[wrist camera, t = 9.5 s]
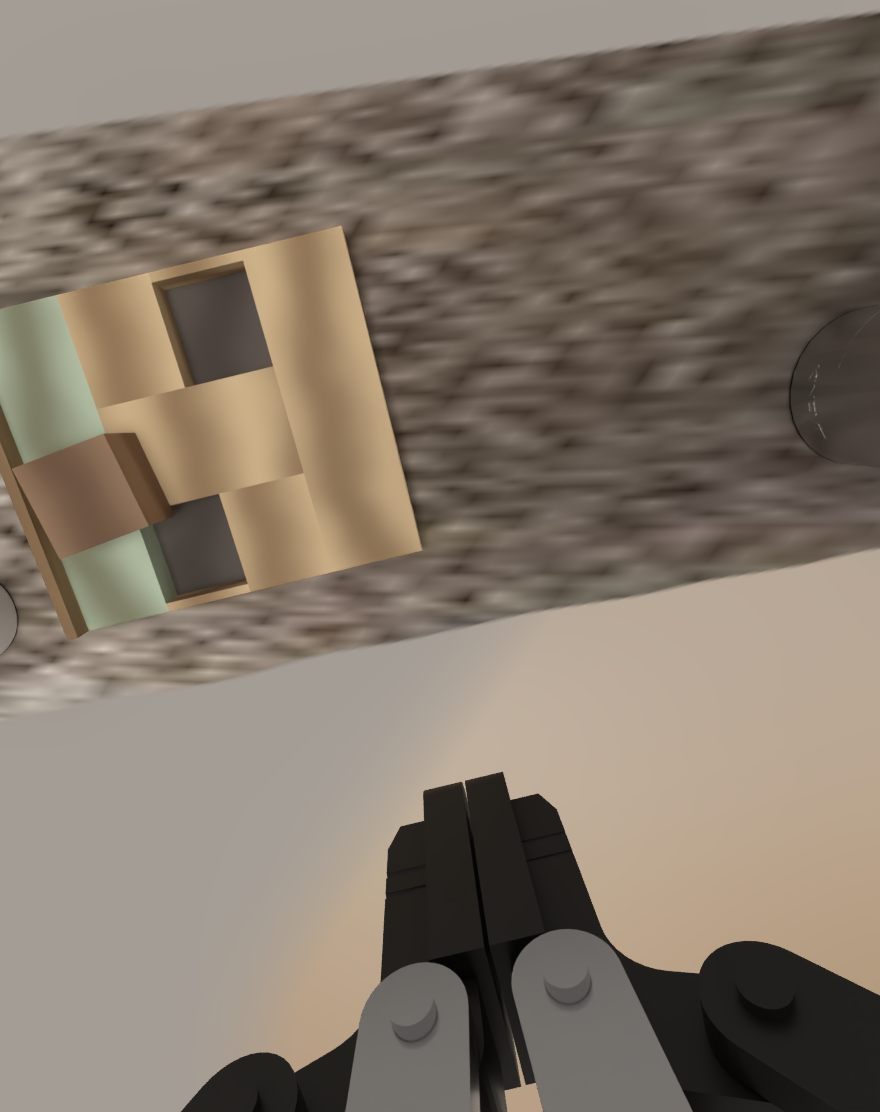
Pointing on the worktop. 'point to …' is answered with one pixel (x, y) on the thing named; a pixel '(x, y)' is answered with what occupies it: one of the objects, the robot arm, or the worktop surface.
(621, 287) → the worktop surface
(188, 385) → the board
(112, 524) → the block
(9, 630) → the mug
